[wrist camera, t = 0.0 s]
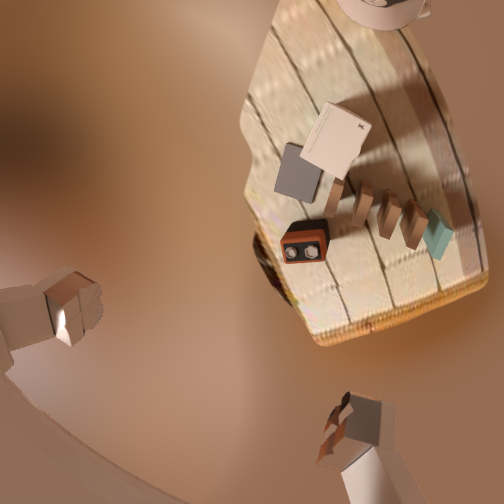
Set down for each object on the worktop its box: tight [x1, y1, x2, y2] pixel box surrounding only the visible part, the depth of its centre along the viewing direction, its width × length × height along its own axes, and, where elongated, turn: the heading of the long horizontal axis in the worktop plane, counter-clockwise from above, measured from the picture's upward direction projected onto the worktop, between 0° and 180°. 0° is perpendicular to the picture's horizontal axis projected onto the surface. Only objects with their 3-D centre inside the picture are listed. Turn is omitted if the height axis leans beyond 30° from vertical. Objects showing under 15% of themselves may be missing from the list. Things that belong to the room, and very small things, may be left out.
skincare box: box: [300, 102, 372, 180], centre depth 41 cm, size 8×7×16 cm
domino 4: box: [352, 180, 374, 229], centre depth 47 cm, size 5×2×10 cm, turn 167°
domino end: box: [422, 209, 454, 260], centre depth 45 cm, size 5×2×10 cm, turn 167°
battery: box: [280, 219, 330, 264], centre depth 53 cm, size 4×7×10 cm, turn 103°
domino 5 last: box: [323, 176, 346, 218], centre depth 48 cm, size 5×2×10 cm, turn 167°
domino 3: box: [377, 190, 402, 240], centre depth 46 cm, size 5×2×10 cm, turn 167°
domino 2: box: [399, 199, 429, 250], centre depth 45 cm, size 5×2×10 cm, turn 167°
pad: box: [274, 143, 322, 204], centre depth 53 cm, size 9×7×1 cm
